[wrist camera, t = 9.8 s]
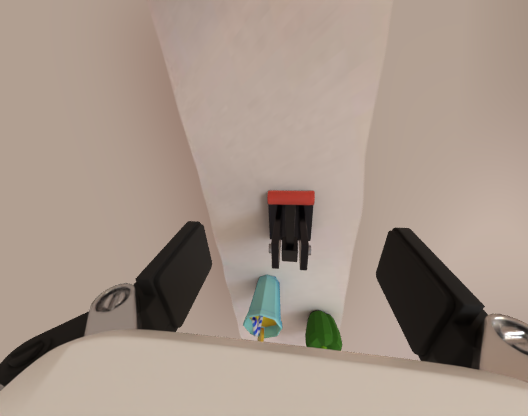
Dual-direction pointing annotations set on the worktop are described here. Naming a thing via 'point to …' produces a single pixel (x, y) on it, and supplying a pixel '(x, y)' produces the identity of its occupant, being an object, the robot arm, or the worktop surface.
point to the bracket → (300, 231)
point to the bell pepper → (322, 332)
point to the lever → (290, 217)
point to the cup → (265, 309)
